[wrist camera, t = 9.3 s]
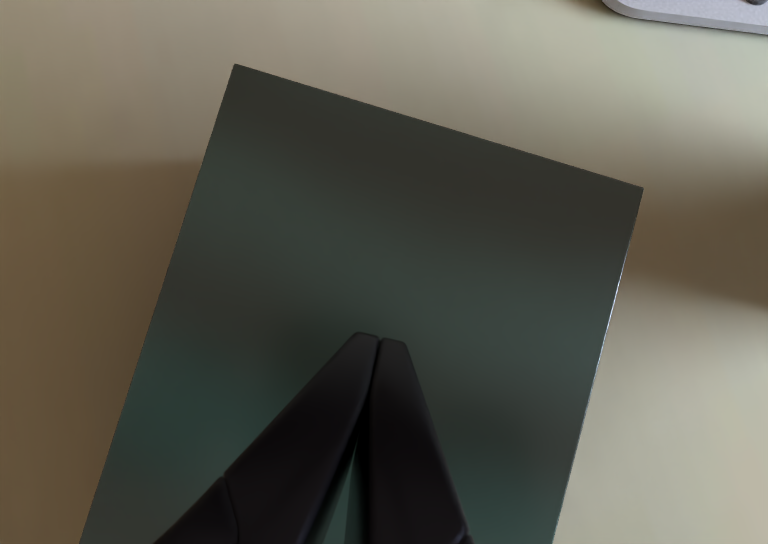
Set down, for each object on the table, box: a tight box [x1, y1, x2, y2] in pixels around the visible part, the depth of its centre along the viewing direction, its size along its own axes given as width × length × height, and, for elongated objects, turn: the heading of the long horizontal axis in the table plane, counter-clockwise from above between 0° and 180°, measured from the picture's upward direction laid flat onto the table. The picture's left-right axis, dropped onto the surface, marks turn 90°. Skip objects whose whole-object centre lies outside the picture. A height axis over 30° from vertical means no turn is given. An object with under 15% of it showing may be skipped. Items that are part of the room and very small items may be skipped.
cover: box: [79, 64, 644, 544], centre depth 14 cm, size 14×11×1 cm
